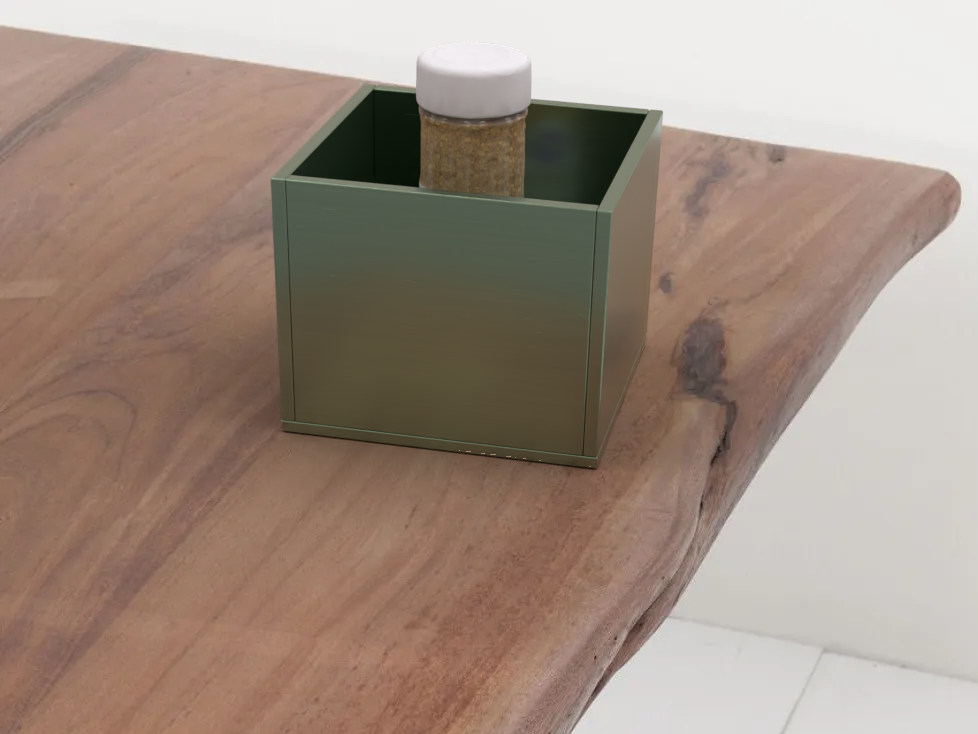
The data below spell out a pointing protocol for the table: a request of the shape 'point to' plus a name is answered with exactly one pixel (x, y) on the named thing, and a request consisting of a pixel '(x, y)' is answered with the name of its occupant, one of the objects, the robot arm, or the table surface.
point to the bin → (465, 283)
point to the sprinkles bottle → (473, 117)
